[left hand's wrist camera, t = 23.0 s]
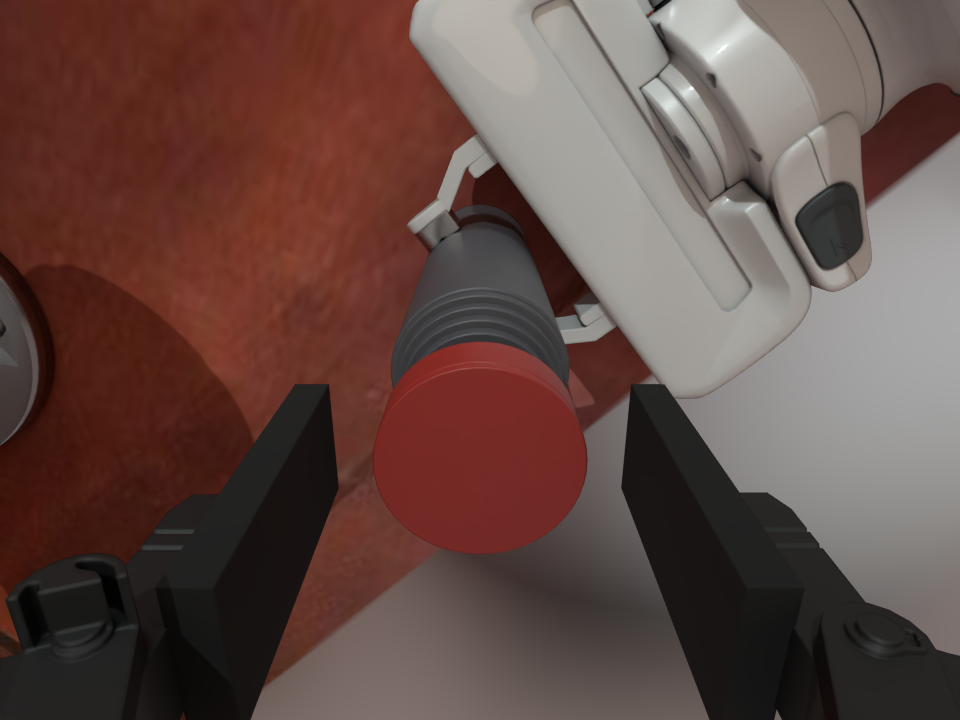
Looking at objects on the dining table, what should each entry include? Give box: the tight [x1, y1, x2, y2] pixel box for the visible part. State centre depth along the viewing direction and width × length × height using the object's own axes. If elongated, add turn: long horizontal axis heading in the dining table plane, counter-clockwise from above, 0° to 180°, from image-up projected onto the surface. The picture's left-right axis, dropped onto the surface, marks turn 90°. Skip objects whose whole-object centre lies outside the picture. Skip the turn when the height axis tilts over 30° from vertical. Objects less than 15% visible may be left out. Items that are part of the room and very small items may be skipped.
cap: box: [373, 342, 587, 554], centre depth 14 cm, size 5×4×2 cm
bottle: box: [391, 205, 569, 390], centre depth 24 cm, size 5×5×22 cm
